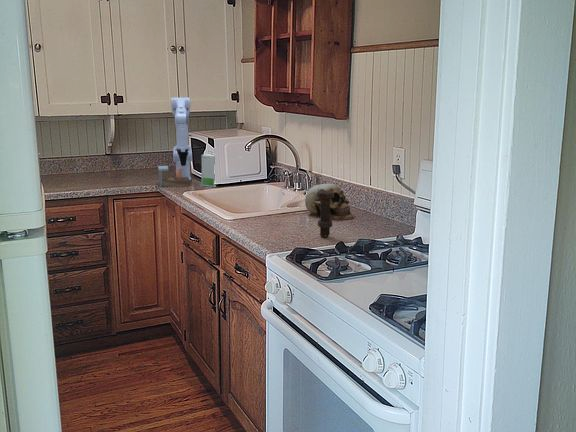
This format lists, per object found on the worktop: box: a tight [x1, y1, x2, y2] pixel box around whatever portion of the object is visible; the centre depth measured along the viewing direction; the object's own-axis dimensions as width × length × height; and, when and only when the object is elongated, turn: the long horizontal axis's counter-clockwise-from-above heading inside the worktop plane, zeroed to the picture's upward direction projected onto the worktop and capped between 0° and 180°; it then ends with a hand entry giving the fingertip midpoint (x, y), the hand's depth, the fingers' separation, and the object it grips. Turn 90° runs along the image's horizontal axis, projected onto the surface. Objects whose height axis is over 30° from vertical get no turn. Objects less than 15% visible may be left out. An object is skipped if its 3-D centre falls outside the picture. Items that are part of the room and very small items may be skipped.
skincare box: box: [201, 153, 217, 188], centre depth 297 cm, size 8×7×16 cm
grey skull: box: [304, 183, 354, 221], centre depth 229 cm, size 16×17×13 cm
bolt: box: [317, 191, 334, 239], centre depth 196 cm, size 6×5×15 cm
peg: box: [175, 168, 182, 180], centre depth 301 cm, size 3×3×8 cm
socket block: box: [162, 176, 190, 188], centre depth 301 cm, size 10×13×3 cm
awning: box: [157, 165, 169, 188], centre depth 299 cm, size 11×5×9 cm, turn 12°
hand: (183, 164), depth 302 cm, fingers open, 7 cm apart
